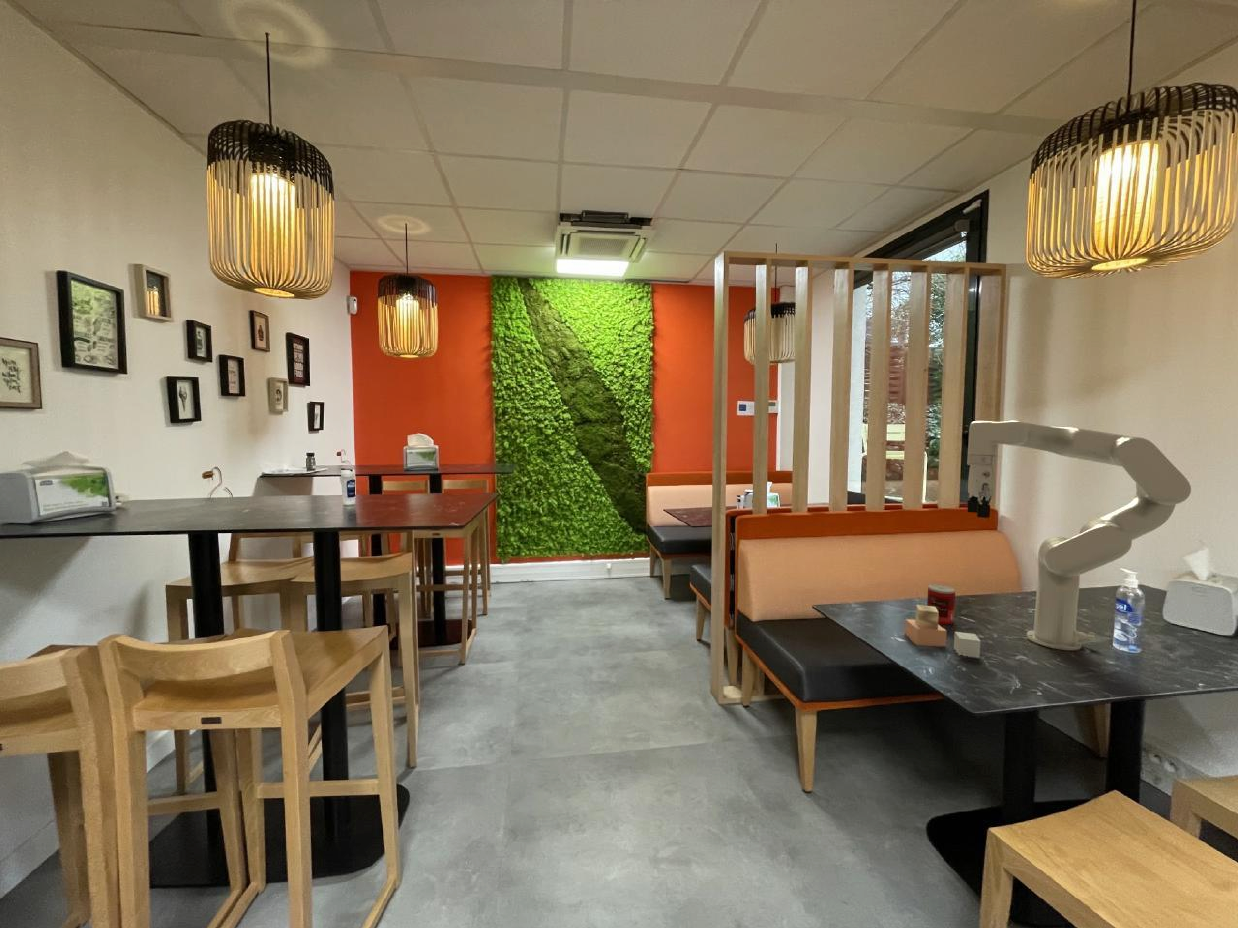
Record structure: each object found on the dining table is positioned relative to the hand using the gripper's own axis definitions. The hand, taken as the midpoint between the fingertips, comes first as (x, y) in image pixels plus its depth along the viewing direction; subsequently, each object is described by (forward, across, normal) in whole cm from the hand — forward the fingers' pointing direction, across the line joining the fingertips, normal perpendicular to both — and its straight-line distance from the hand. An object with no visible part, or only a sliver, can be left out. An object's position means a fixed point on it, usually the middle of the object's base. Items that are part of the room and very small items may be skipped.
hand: (978, 514), depth 166 cm
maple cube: (+32, -17, +16) cm, 39 cm away
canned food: (+36, +3, +8) cm, 37 cm away
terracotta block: (+37, -17, +16) cm, 44 cm away
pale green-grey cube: (+36, -23, +7) cm, 44 cm away
